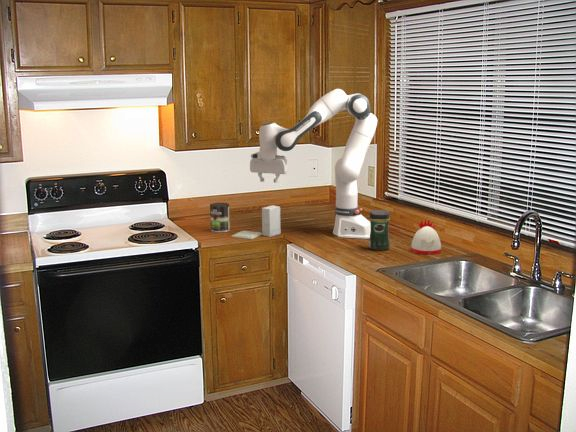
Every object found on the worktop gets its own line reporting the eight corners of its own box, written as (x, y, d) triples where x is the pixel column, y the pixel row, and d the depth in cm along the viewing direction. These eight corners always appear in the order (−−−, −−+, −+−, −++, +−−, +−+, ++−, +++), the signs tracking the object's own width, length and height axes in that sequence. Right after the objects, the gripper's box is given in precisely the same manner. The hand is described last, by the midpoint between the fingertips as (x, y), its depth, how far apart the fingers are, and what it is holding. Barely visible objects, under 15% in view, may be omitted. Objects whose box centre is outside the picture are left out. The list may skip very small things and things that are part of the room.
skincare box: (273, 232, 343) (272, 204, 340) (281, 234, 339) (281, 206, 336) (261, 235, 337) (261, 207, 334) (269, 237, 333) (269, 208, 330)
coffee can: (223, 233, 342) (222, 206, 339) (207, 231, 347) (206, 205, 344) (233, 229, 351) (232, 203, 348) (217, 227, 356) (216, 201, 353)
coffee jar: (389, 246, 313) (390, 208, 309) (389, 250, 305) (390, 212, 301) (369, 246, 314) (369, 208, 310) (368, 250, 307) (369, 211, 303)
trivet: (263, 234, 340) (263, 232, 340) (251, 239, 329) (251, 237, 329) (243, 231, 345) (243, 230, 345) (231, 236, 335) (231, 235, 334)
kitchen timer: (409, 246, 313) (410, 215, 310) (439, 246, 312) (440, 216, 308) (412, 254, 300) (413, 222, 296) (442, 254, 298) (444, 222, 295)
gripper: (289, 155, 327) (290, 182, 330) (254, 153, 336) (254, 179, 339) (283, 156, 322) (284, 184, 325) (248, 154, 331) (248, 181, 334)
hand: (268, 181), depth 332 cm, fingers open, 6 cm apart
